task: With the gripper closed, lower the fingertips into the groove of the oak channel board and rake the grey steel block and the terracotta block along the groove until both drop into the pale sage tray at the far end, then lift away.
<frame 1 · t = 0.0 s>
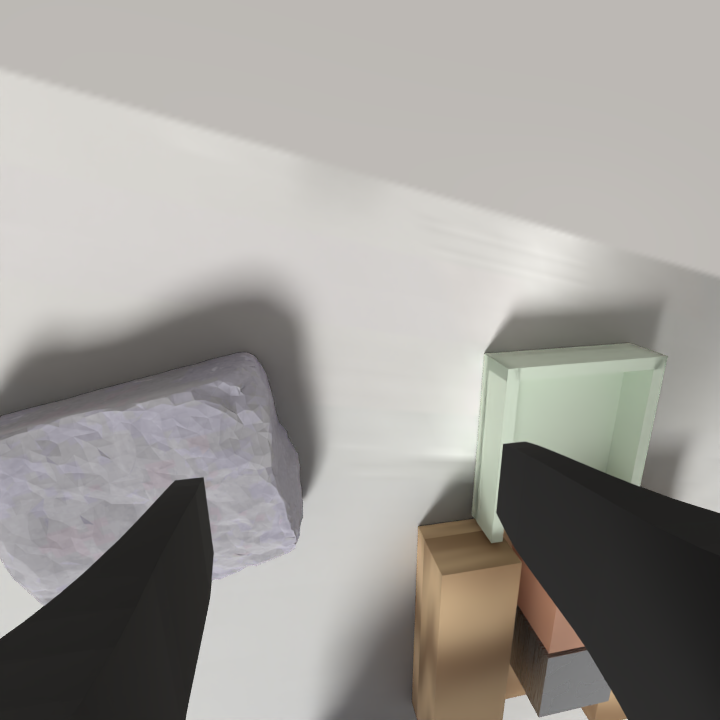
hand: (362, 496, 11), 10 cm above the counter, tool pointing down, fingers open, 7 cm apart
stone block: (167, 470, 21), on the counter
grey steel block: (535, 614, 26), point 1 cm above the counter, touching oak channel board
terracotta block: (543, 554, 25), point 1 cm above the counter, touching oak channel board
sage tray: (548, 431, 24), on the counter
oak channel board: (526, 600, 27), on the counter
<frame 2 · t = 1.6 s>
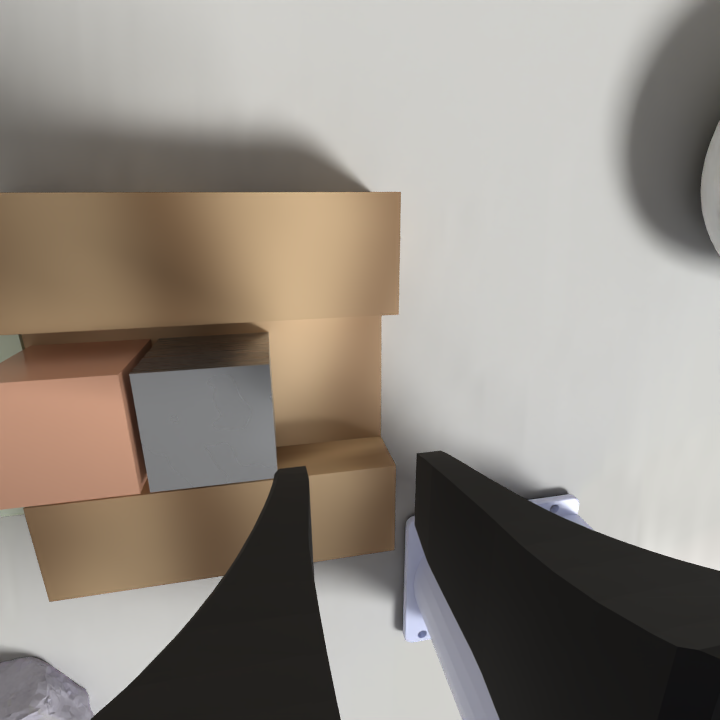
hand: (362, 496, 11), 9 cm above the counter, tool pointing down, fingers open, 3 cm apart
grey steel block: (220, 384, 18), point 1 cm above the counter, touching oak channel board
terracotta block: (102, 393, 17), point 1 cm above the counter, touching oak channel board
oak channel board: (222, 375, 19), on the counter
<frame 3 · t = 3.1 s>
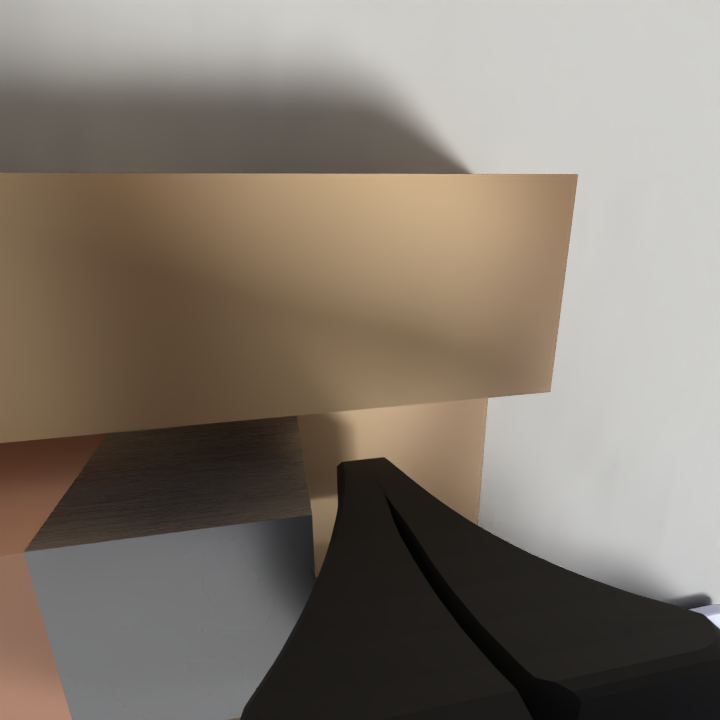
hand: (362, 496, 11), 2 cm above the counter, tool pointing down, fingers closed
grey steel block: (217, 492, 11), point 1 cm above the counter, touching gripper, terracotta block
terracotta block: (34, 514, 10), point 1 cm above the counter, touching grey steel block
oak channel board: (237, 469, 12), on the counter
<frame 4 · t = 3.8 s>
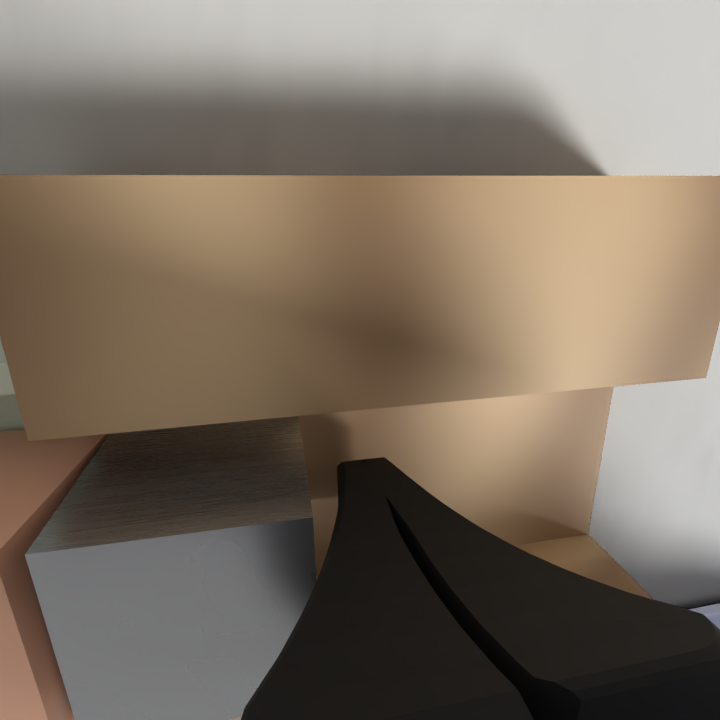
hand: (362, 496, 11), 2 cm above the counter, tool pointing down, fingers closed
grey steel block: (219, 492, 11), point 1 cm above the counter, touching gripper, oak channel board
terracotta block: (39, 508, 10), point 1 cm above the counter, tilted 5°, touching oak channel board
oak channel board: (373, 454, 13), on the counter
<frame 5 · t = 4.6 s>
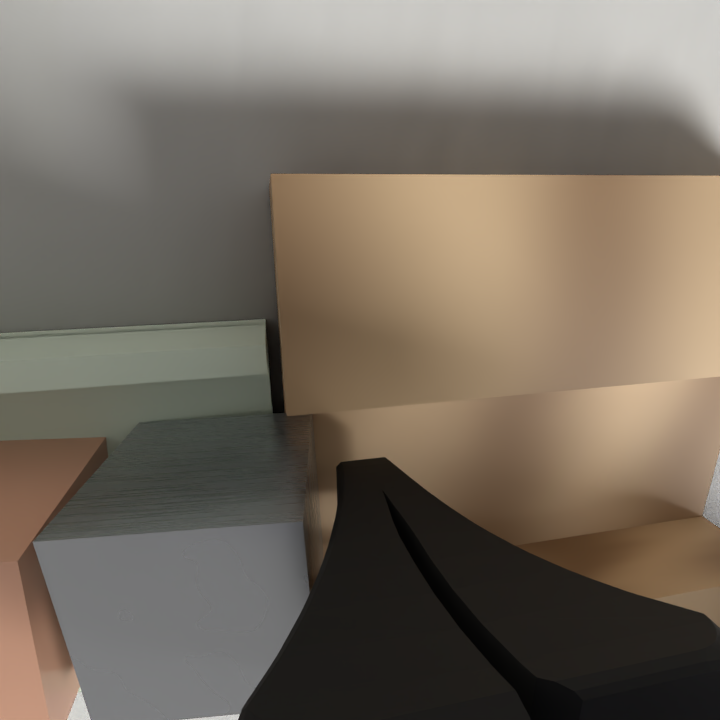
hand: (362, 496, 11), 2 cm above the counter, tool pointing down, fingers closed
grey steel block: (237, 489, 11), point 1 cm above the counter, tilted 7°, touching gripper, sage tray
terracotta block: (22, 516, 11), point 1 cm above the counter, touching sage tray
sage tray: (92, 484, 11), on the counter
oak channel board: (509, 438, 13), on the counter
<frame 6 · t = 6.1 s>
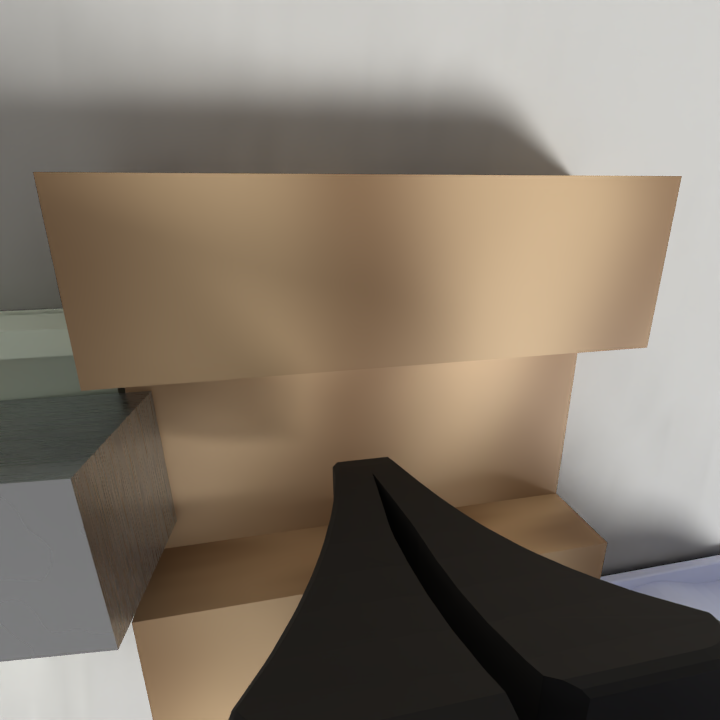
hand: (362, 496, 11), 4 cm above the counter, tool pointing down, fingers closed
grey steel block: (88, 464, 12), point 1 cm above the counter, tilted 7°, touching oak channel board, sage tray
oak channel board: (365, 420, 14), on the counter
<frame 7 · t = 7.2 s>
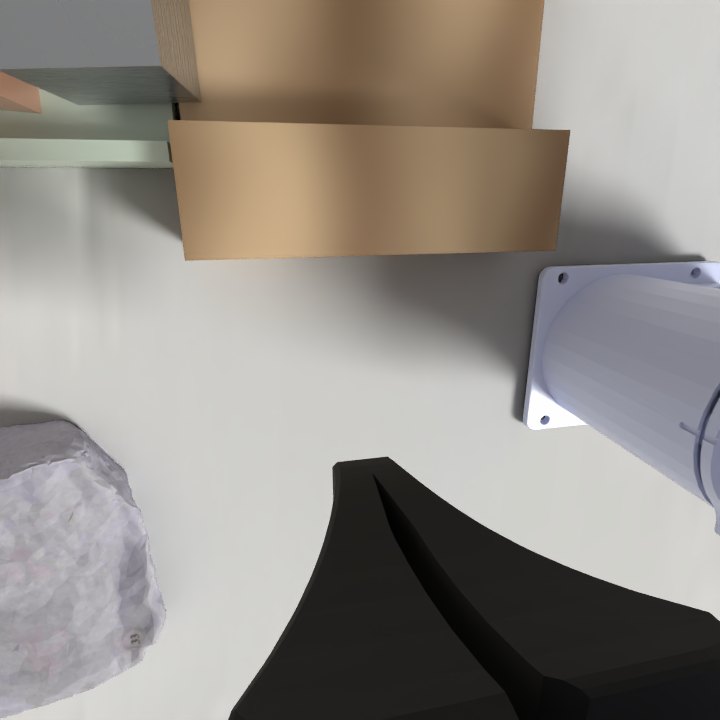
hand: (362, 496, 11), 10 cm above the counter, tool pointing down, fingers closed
stone block: (53, 539, 21), on the counter
grey steel block: (128, 33, 14), point 1 cm above the counter, tilted 7°, touching oak channel board, sage tray
sage tray: (17, 32, 15), on the counter
oak channel board: (362, 51, 17), on the counter
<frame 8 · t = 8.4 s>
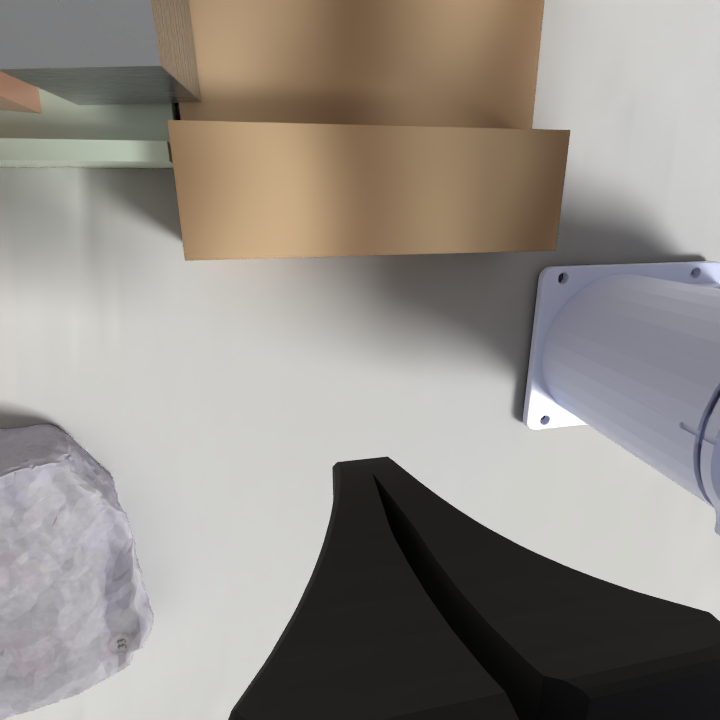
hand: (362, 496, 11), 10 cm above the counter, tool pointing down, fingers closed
stone block: (40, 543, 21), on the counter
grey steel block: (128, 33, 14), point 1 cm above the counter, tilted 7°, touching oak channel board, sage tray
sage tray: (17, 32, 15), on the counter
oak channel board: (362, 51, 17), on the counter
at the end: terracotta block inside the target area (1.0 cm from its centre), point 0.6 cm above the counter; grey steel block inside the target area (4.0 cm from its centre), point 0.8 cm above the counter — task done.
